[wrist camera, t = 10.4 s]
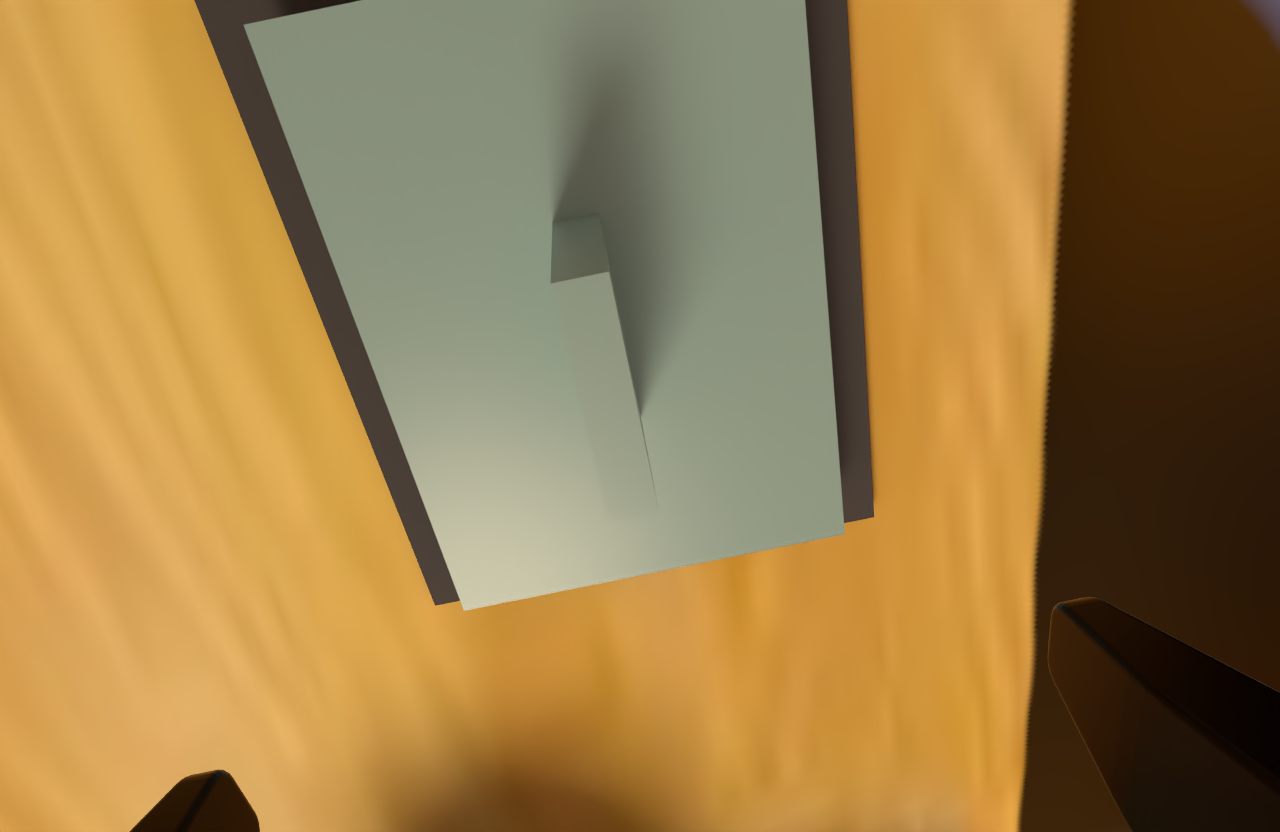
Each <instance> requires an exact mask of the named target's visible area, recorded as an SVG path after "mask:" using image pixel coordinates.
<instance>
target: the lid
mask: <svg viewBox="0 0 1280 832" xmlns="http://www.w3.org/2000/svg"><path fill="white" fill-rule="evenodd" d="M244 28H245V30H246V33H247V36H248V38H249V41H250V44H251V46H252V49H253V52H254V54H255V57H256V60H257V62H258V65H259V68H260V70H261V73H262V75H263V78H264V81H265V83H266V86H267V89H268V91H269V94H270V97H271V99H272V102H273V105H274V107H275V110H276V113H277V115H278V118H279V121H280V123H281V126H282V129H283V131H284V134H285V137H286V139H287V142H288V145H289V147H290V150H291V153H292V155H293V158H294V160H295V163H296V166H297V168H298V171H299V174H300V176H301V179H302V182H303V184H304V187H305V190H306V192H307V195H308V198H309V200H310V203H311V206H312V208H313V211H314V214H315V216H316V219H317V222H318V224H319V227H320V230H321V232H322V235H323V238H324V240H325V243H326V245H327V248H328V251H329V253H330V256H331V259H332V261H333V264H334V267H335V269H336V272H337V275H338V277H339V280H340V283H341V285H342V288H343V291H344V293H345V296H346V299H347V301H348V304H349V307H350V309H351V312H352V315H353V317H354V320H355V323H356V325H357V328H358V330H359V333H360V336H361V338H362V341H363V344H364V346H365V349H366V352H367V354H368V357H369V360H370V362H371V365H372V368H373V370H374V373H375V376H376V378H377V381H378V384H379V386H380V389H381V392H382V394H383V397H384V400H385V402H386V405H387V408H388V410H389V413H390V415H391V418H392V421H393V423H394V426H395V429H396V431H397V434H398V437H399V439H400V442H401V445H402V447H403V450H404V453H405V455H406V458H407V461H408V463H409V466H410V469H411V471H412V474H413V477H414V479H415V482H416V485H417V487H418V490H419V493H420V495H421V498H422V500H423V503H424V506H425V508H426V511H427V514H428V516H429V519H430V522H431V524H432V527H433V530H434V532H435V535H436V538H437V540H438V543H439V546H440V548H441V551H442V554H443V556H444V559H445V562H446V564H447V567H448V570H449V572H450V575H451V578H452V580H453V583H454V585H455V588H456V591H457V593H458V596H459V599H460V601H461V604H462V607H463V609H464V611H465V610H470V609H475V608H480V607H485V606H490V605H495V604H500V603H505V602H510V601H515V600H520V599H525V598H530V597H535V596H540V595H545V594H550V593H555V592H560V591H565V590H570V589H575V588H580V587H585V586H590V585H595V584H599V583H604V582H609V581H614V580H619V579H624V578H629V577H634V576H639V575H644V574H649V573H654V572H659V571H664V570H669V569H674V568H679V567H684V566H689V565H694V564H699V563H704V562H709V561H714V560H719V559H724V558H729V557H733V556H738V555H743V554H748V553H753V552H758V551H763V550H768V549H773V548H778V547H783V546H788V545H793V544H798V543H803V542H808V541H813V540H818V539H823V538H828V537H833V536H838V535H843V534H845V530H844V517H843V503H842V490H841V476H840V463H839V450H838V436H837V423H836V409H835V396H834V382H833V369H832V355H831V342H830V329H829V315H828V302H827V288H826V275H825V261H824V248H823V235H822V221H821V208H820V194H819V181H818V167H817V154H816V140H815V127H814V114H813V100H812V87H811V73H810V60H809V46H808V33H807V20H806V6H805V0H360V1H356V2H351V3H346V4H341V5H336V6H331V7H327V8H322V9H317V10H312V11H307V12H303V13H298V14H293V15H288V16H283V17H278V18H274V19H269V20H264V21H259V22H254V23H250V24H245V25H244Z"/></svg>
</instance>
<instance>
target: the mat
mask: <svg viewBox="0 0 1280 832" xmlns="http://www.w3.org/2000/svg"><path fill="white" fill-rule="evenodd" d="M356 1H360V0H195V3H196V5H197V8H198V10H199V13H200V15H201V18H202V20H203V23H204V25H205V28H206V30H207V33H208V35H209V38H210V40H211V43H212V45H213V48H214V50H215V53H216V55H217V58H218V60H219V63H220V65H221V68H222V70H223V73H224V75H225V78H226V81H227V83H228V86H229V88H230V91H231V93H232V96H233V98H234V101H235V103H236V106H237V108H238V111H239V113H240V116H241V118H242V121H243V123H244V126H245V128H246V131H247V133H248V136H249V138H250V141H251V143H252V146H253V148H254V151H255V153H256V156H257V158H258V161H259V164H260V166H261V169H262V171H263V174H264V176H265V179H266V181H267V184H268V186H269V189H270V191H271V194H272V196H273V199H274V201H275V204H276V206H277V209H278V211H279V214H280V216H281V219H282V221H283V224H284V226H285V229H286V231H287V234H288V236H289V239H290V241H291V244H292V246H293V249H294V252H295V254H296V257H297V259H298V262H299V264H300V267H301V269H302V272H303V274H304V277H305V279H306V282H307V284H308V287H309V289H310V292H311V294H312V297H313V299H314V302H315V304H316V307H317V309H318V312H319V314H320V317H321V319H322V322H323V324H324V327H325V329H326V332H327V335H328V337H329V340H330V342H331V345H332V347H333V350H334V352H335V355H336V357H337V360H338V362H339V365H340V367H341V370H342V372H343V375H344V377H345V380H346V382H347V385H348V387H349V390H350V392H351V395H352V397H353V400H354V402H355V405H356V407H357V410H358V412H359V415H360V417H361V420H362V423H363V425H364V428H365V430H366V433H367V435H368V438H369V440H370V443H371V445H372V448H373V450H374V453H375V455H376V458H377V460H378V463H379V465H380V468H381V470H382V473H383V475H384V478H385V480H386V483H387V485H388V488H389V490H390V493H391V495H392V498H393V500H394V503H395V506H396V508H397V511H398V513H399V516H400V518H401V521H402V523H403V526H404V528H405V531H406V533H407V536H408V538H409V541H410V543H411V546H412V548H413V551H414V553H415V556H416V558H417V561H418V563H419V566H420V568H421V571H422V573H423V576H424V578H425V581H426V583H427V586H428V588H429V591H430V594H431V596H432V599H433V601H434V604H435V605H440V604H445V603H450V602H455V601H460V599H459V596H458V593H457V591H456V588H455V585H454V583H453V580H452V578H451V575H450V572H449V570H448V567H447V564H446V562H445V559H444V556H443V554H442V551H441V548H440V546H439V543H438V540H437V538H436V535H435V532H434V530H433V527H432V524H431V522H430V519H429V516H428V514H427V511H426V508H425V506H424V503H423V500H422V498H421V495H420V493H419V490H418V487H417V485H416V482H415V479H414V477H413V474H412V471H411V469H410V466H409V463H408V461H407V458H406V455H405V453H404V450H403V447H402V445H401V442H400V439H399V437H398V434H397V431H396V429H395V426H394V423H393V421H392V418H391V415H390V413H389V410H388V408H387V405H386V402H385V400H384V397H383V394H382V392H381V389H380V386H379V384H378V381H377V378H376V376H375V373H374V370H373V368H372V365H371V362H370V360H369V357H368V354H367V352H366V349H365V346H364V344H363V341H362V338H361V336H360V333H359V330H358V328H357V325H356V323H355V320H354V317H353V315H352V312H351V309H350V307H349V304H348V301H347V299H346V296H345V293H344V291H343V288H342V285H341V283H340V280H339V277H338V275H337V272H336V269H335V267H334V264H333V261H332V259H331V256H330V253H329V251H328V248H327V245H326V243H325V240H324V238H323V235H322V232H321V230H320V227H319V224H318V222H317V219H316V216H315V214H314V211H313V208H312V206H311V203H310V200H309V198H308V195H307V192H306V190H305V187H304V184H303V182H302V179H301V176H300V174H299V171H298V168H297V166H296V163H295V160H294V158H293V155H292V153H291V150H290V147H289V145H288V142H287V139H286V137H285V134H284V131H283V129H282V126H281V123H280V121H279V118H278V115H277V113H276V110H275V107H274V105H273V102H272V99H271V97H270V94H269V91H268V89H267V86H266V83H265V81H264V78H263V75H262V73H261V70H260V68H259V65H258V62H257V60H256V57H255V54H254V52H253V49H252V46H251V44H250V41H249V38H248V36H247V33H246V30H245V28H244V25H245V24H250V23H254V22H259V21H264V20H269V19H274V18H278V17H283V16H288V15H293V14H298V13H303V12H307V11H312V10H317V9H322V8H327V7H331V6H336V5H341V4H346V3H351V2H356ZM805 6H806V20H807V33H808V46H809V60H810V73H811V87H812V100H813V114H814V127H815V140H816V154H817V167H818V181H819V194H820V208H821V221H822V235H823V248H824V261H825V275H826V288H827V302H828V315H829V329H830V342H831V355H832V369H833V382H834V396H835V409H836V423H837V436H838V450H839V463H840V476H841V490H842V503H843V517H844V523H847V522H852V521H857V520H862V519H867V518H871V517H874V507H873V488H872V469H871V450H870V431H869V412H868V393H867V374H866V355H865V336H864V317H863V298H862V279H861V260H860V241H859V222H858V203H857V184H856V165H855V146H854V127H853V108H852V89H851V69H850V50H849V31H848V12H847V0H805Z"/></svg>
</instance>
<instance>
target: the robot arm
mask: <svg viewBox="0 0 1280 832" xmlns="http://www.w3.org/2000/svg"><path fill="white" fill-rule="evenodd" d="M1048 665H1049V670H1050V673H1051V676H1052V679H1053V681H1054V683H1055V685H1056V687H1057V689H1058V691H1059V693H1060V695H1061V697H1062V699H1063V701H1064V703H1065V705H1066V707H1067V709H1068V711H1069V713H1070V715H1071V717H1072V719H1073V721H1074V722H1075V725H1076V727H1077V728H1078V730H1079V732H1080V734H1081V736H1082V738H1083V740H1084V742H1085V744H1086V746H1087V748H1088V750H1089V752H1090V754H1091V756H1092V758H1093V760H1094V762H1095V764H1096V766H1097V768H1098V770H1099V772H1100V774H1101V776H1102V778H1103V780H1104V781H1105V784H1106V785H1107V787H1108V789H1109V791H1110V793H1111V795H1112V797H1113V799H1114V801H1115V803H1116V805H1117V806H1118V808H1119V810H1120V812H1121V814H1122V816H1123V817H1124V819H1125V821H1126V822H1127V824H1128V825H1129V827H1130V829H1131V831H1132V832H1280V692H1278V691H1276V690H1274V689H1272V688H1270V687H1268V686H1266V685H1264V684H1262V683H1261V682H1259V681H1257V680H1255V679H1253V678H1251V677H1249V676H1247V675H1245V674H1243V673H1241V672H1239V671H1238V670H1235V669H1233V668H1232V667H1230V666H1228V665H1226V664H1224V663H1222V662H1220V661H1218V660H1216V659H1214V658H1213V657H1211V656H1209V655H1207V654H1205V653H1203V652H1201V651H1199V650H1197V649H1195V648H1193V647H1191V646H1189V645H1188V644H1186V643H1184V642H1182V641H1180V640H1178V639H1176V638H1174V637H1172V636H1170V635H1168V634H1166V633H1164V632H1162V631H1161V630H1158V629H1157V628H1155V627H1153V626H1151V625H1149V624H1147V623H1145V622H1143V621H1141V620H1139V619H1137V618H1135V617H1134V616H1132V615H1130V614H1128V613H1126V612H1124V611H1122V610H1120V609H1118V608H1116V607H1114V606H1113V605H1111V604H1109V603H1107V602H1105V601H1103V600H1100V599H1098V598H1094V597H1085V598H1081V599H1075V600H1071V601H1065V602H1060V603H1058V604H1056V605H1055V606H1054V608H1053V610H1052V614H1051V624H1050V636H1049V650H1048ZM130 832H260V828H259V822H258V818H257V815H256V813H255V812H254V810H253V808H252V807H251V805H250V804H249V802H248V801H247V799H246V797H245V796H244V794H243V793H242V791H241V790H240V788H239V787H238V785H237V783H236V782H235V780H234V779H233V777H232V776H231V775H230V773H228V772H226V771H224V770H214V771H209V772H204V773H199V774H194V775H190V776H188V777H185V778H184V779H182V780H181V781H180V782H178V783H177V784H176V785H175V786H174V787H173V788H172V789H171V790H170V791H169V792H168V793H167V794H166V795H165V796H164V797H163V798H162V799H161V800H160V801H159V802H158V803H157V804H156V805H155V806H154V807H153V808H152V809H151V810H150V811H149V812H148V813H147V814H146V815H145V816H144V817H143V819H142V820H141V821H140V822H139V823H138V824H137V825H136V826H135V827H134V828H133V829H132V830H131V831H130Z"/></svg>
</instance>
